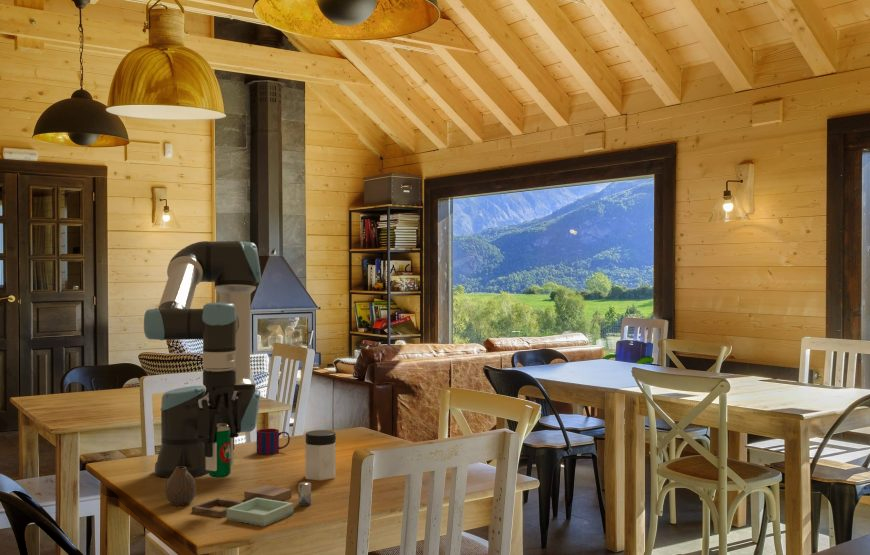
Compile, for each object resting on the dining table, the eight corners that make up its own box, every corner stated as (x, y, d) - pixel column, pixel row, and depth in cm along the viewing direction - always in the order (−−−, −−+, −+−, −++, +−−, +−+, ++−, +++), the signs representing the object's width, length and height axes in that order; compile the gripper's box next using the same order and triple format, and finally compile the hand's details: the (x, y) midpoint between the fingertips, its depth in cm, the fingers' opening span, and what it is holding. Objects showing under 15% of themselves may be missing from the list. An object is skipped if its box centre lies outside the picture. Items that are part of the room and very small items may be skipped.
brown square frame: (192, 512, 197) (192, 507, 197) (217, 502, 205) (217, 497, 205) (221, 517, 193) (221, 512, 193) (246, 507, 201) (246, 502, 201)
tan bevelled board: (244, 501, 208) (244, 491, 208) (262, 494, 214) (262, 485, 214) (273, 506, 204) (273, 496, 204) (291, 499, 210) (291, 489, 210)
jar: (312, 482, 225) (312, 437, 225) (299, 475, 232) (299, 432, 232) (342, 477, 230) (342, 433, 230) (328, 471, 237) (328, 428, 237)
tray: (226, 519, 192) (226, 508, 192) (256, 508, 201) (256, 497, 201) (264, 526, 187) (264, 515, 187) (293, 514, 196) (293, 503, 196)
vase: (167, 508, 200) (167, 471, 200) (164, 501, 207) (164, 465, 206) (197, 505, 203) (197, 469, 203) (193, 498, 209) (193, 462, 209)
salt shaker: (295, 505, 204) (295, 484, 203) (303, 502, 206) (303, 481, 206) (306, 506, 202) (306, 485, 202) (313, 503, 205) (313, 483, 205)
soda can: (207, 474, 201) (206, 423, 201) (228, 471, 203) (228, 422, 203) (210, 479, 196) (210, 427, 196) (232, 477, 198) (232, 426, 198)
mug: (258, 450, 264) (258, 428, 264) (291, 450, 264) (291, 428, 264) (254, 455, 257) (254, 432, 257) (287, 455, 257) (287, 432, 257)
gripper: (204, 374, 189) (205, 478, 190) (256, 365, 205) (257, 460, 206) (179, 372, 193) (179, 474, 193) (232, 363, 209) (232, 457, 209)
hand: (219, 467), depth 200 cm, fingers closed on soda can, 5 cm apart
